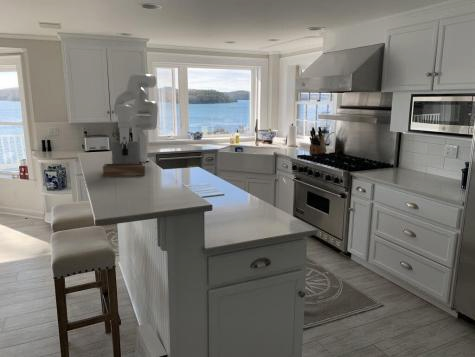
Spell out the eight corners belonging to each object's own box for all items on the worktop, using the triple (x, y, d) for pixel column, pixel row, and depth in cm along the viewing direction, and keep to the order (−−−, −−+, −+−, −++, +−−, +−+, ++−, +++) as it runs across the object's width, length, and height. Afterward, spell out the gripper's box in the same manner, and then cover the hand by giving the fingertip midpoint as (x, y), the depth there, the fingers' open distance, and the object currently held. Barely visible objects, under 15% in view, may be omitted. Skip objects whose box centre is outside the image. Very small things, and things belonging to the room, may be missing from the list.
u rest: (105, 172, 223) (105, 163, 222) (145, 171, 228) (144, 162, 227) (103, 176, 211) (102, 167, 210) (144, 175, 217) (144, 166, 215)
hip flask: (139, 168, 237) (138, 137, 232) (139, 169, 233) (138, 137, 228) (112, 169, 231) (111, 137, 227) (112, 170, 227) (111, 138, 223)
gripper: (119, 124, 233) (120, 152, 237) (116, 126, 217) (118, 156, 221) (131, 124, 235) (132, 152, 239) (130, 126, 219) (131, 156, 222)
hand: (125, 154), depth 230 cm, fingers open, 6 cm apart
